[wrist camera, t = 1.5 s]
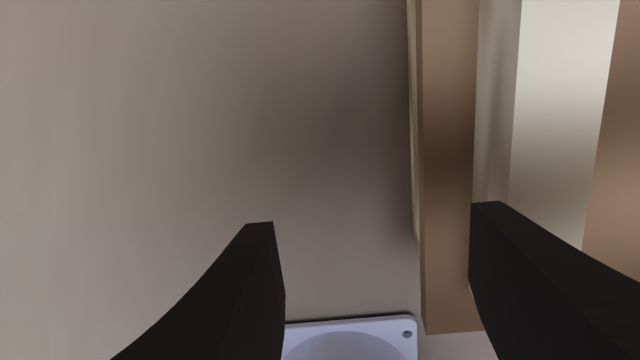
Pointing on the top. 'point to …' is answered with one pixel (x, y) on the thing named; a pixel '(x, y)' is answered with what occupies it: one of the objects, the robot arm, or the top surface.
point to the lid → (525, 133)
